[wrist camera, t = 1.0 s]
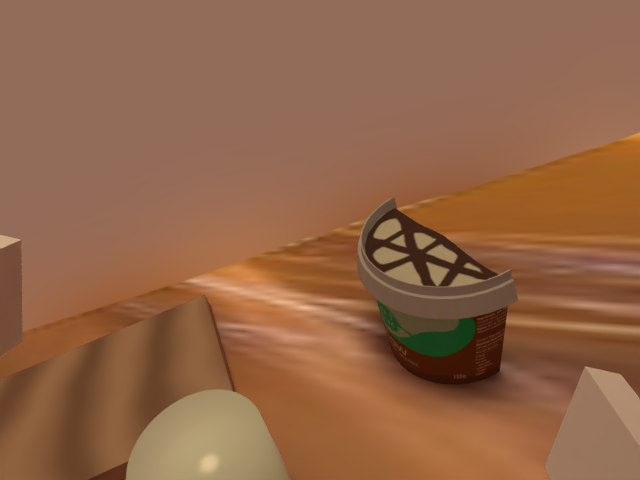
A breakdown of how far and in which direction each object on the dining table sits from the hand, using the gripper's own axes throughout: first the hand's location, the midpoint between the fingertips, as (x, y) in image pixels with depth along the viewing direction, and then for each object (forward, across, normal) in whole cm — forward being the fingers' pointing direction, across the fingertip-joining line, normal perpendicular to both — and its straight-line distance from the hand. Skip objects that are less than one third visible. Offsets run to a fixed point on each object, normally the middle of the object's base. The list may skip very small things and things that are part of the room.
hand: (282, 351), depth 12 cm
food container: (+24, +8, -12) cm, 28 cm away
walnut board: (+21, -16, -23) cm, 35 cm away
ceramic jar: (+11, 0, -20) cm, 23 cm away
